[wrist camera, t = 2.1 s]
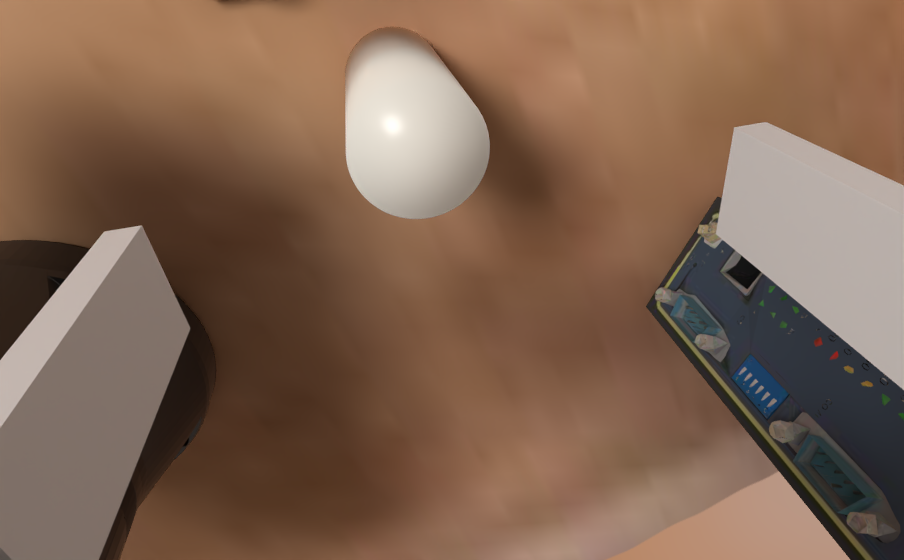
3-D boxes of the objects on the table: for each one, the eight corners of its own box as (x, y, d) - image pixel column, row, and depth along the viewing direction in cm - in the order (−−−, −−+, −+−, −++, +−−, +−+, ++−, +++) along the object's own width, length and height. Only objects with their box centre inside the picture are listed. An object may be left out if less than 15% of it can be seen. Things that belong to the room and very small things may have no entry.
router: (697, 187, 31) (1112, 489, 14) (907, 263, 37) (1375, 540, 20) (626, 301, 34) (889, 649, 18) (828, 354, 40) (1168, 653, 24)
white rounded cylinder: (356, 134, 26) (361, 229, 18) (335, 34, 24) (330, 91, 15) (447, 119, 26) (494, 206, 18) (435, 19, 24) (484, 67, 16)
